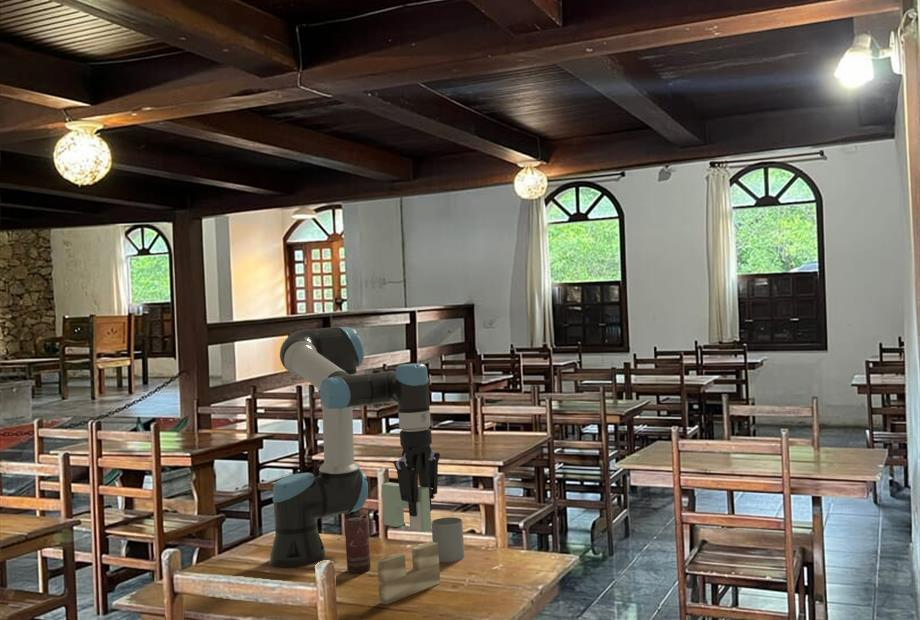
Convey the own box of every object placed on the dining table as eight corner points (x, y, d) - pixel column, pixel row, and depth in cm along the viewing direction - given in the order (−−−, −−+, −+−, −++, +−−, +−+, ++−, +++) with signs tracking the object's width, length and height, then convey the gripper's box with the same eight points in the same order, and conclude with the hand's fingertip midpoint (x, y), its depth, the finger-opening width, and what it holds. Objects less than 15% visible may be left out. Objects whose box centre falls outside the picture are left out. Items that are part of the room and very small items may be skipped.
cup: (460, 562, 227) (458, 525, 227) (430, 562, 228) (428, 525, 228) (466, 553, 235) (464, 517, 235) (437, 553, 236) (435, 517, 236)
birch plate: (379, 602, 198) (377, 560, 198) (433, 581, 212) (431, 541, 212) (386, 604, 197) (383, 561, 197) (440, 583, 210) (437, 543, 210)
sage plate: (384, 524, 208) (381, 484, 208) (391, 522, 210) (388, 482, 210) (424, 532, 199) (421, 489, 199) (431, 529, 200) (428, 487, 200)
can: (375, 567, 227) (372, 515, 227) (362, 574, 221) (359, 521, 221) (355, 565, 229) (352, 514, 229) (343, 573, 223) (339, 520, 223)
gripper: (402, 434, 193) (408, 537, 193) (449, 425, 204) (455, 522, 204) (380, 432, 198) (386, 533, 198) (427, 423, 209) (433, 518, 209)
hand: (421, 527), depth 201 cm, fingers closed on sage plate, 2 cm apart
